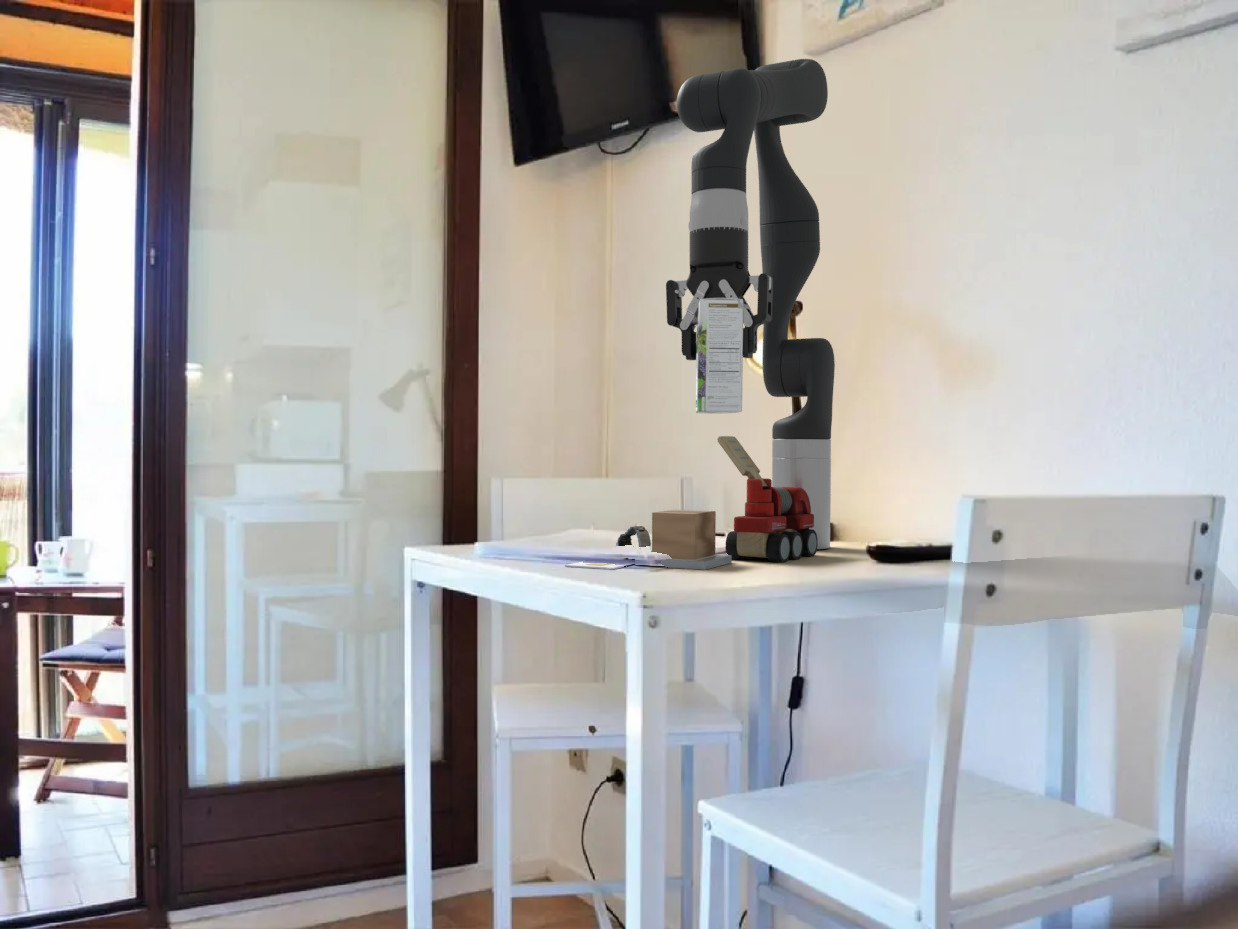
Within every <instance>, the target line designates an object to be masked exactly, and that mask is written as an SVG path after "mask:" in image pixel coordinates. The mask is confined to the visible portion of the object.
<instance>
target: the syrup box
mask: <svg viewBox="0 0 1238 929" xmlns="http://www.w3.org/2000/svg"><path fill="white" fill-rule="evenodd" d="M739 300H740V302H741V303H742V305H743V299H739ZM743 328H744V324H743V308H742V309H740V308H738V301H737V299H734V298H705V299H700V301H699V308H698V316H697V326H696V360H695V412H696V414H736V413H737V414H739V413H742V412H743V369H744V368H743V367H744V366H743V364H744V362H743V361H744V360H743Z"/></svg>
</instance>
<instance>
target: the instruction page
mask: <svg viewBox="0 0 1238 929" xmlns="http://www.w3.org/2000/svg"><path fill="white" fill-rule="evenodd" d="M624 566H625V565H615V564H607V563H583V561H579V562H574V563H568V564H564V568H565V567H567V568H568V567H569V568H582V569H584V568H585V569H598V570H599V569H600V570H601V569H602V570H617V569H621V568H625V567H624Z"/></svg>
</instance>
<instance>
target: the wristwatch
mask: <svg viewBox="0 0 1238 929" xmlns="http://www.w3.org/2000/svg"><path fill="white" fill-rule="evenodd" d="M633 536H636V537H637V543H638V548H639V547H646V546H650V547H652V539H651V536H650V533H649V531H648V530H647V529H646V527H645V526H644V525H634V526H630V527H629V528H628V529H627V530H626V531H625V532H624V533H620V534H619V536H618V538H617V541H616V543H615V547H616V546H625V545H633V543H632V540H633V539H632V538H631V537H633Z"/></svg>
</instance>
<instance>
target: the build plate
mask: <svg viewBox="0 0 1238 929" xmlns="http://www.w3.org/2000/svg"><path fill="white" fill-rule="evenodd" d="M732 561H733V559H732V555H727V554H715V555H713V556H709V557H704V558H700V559H696V560H684V559H666V560H662V561H661V564H662V565H664V566H666V567H665V568H667V567H668V568H671V569H673V568H674V569H686V570H687V569H688V570H703V571H705V570H710V569H714V568H717V567H721V566H725V565H728V564H731V563H732Z"/></svg>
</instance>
